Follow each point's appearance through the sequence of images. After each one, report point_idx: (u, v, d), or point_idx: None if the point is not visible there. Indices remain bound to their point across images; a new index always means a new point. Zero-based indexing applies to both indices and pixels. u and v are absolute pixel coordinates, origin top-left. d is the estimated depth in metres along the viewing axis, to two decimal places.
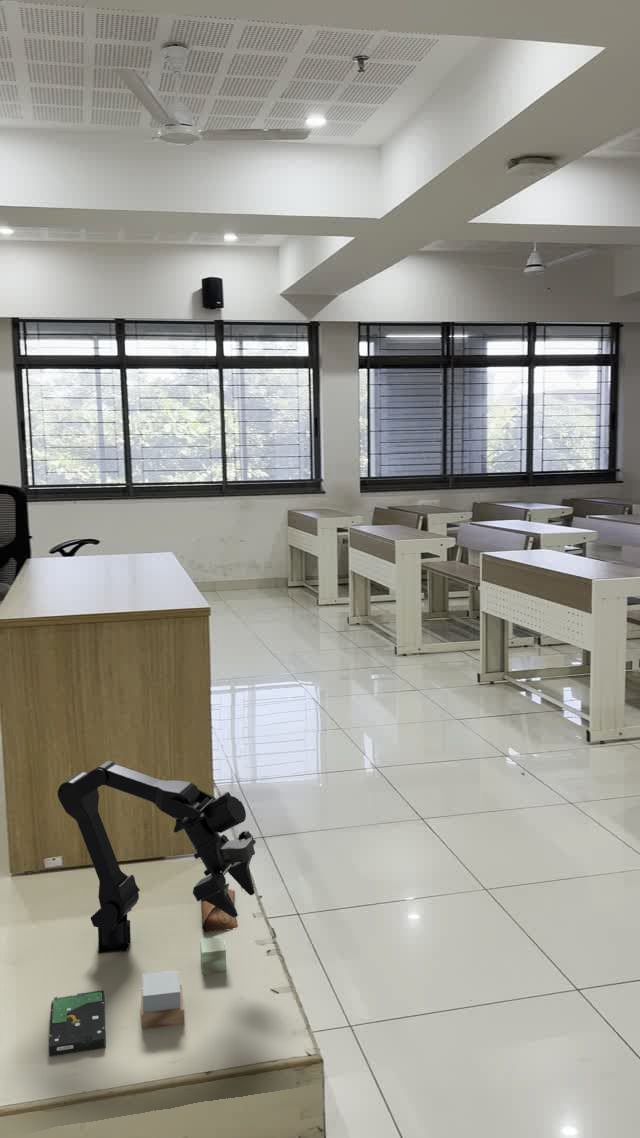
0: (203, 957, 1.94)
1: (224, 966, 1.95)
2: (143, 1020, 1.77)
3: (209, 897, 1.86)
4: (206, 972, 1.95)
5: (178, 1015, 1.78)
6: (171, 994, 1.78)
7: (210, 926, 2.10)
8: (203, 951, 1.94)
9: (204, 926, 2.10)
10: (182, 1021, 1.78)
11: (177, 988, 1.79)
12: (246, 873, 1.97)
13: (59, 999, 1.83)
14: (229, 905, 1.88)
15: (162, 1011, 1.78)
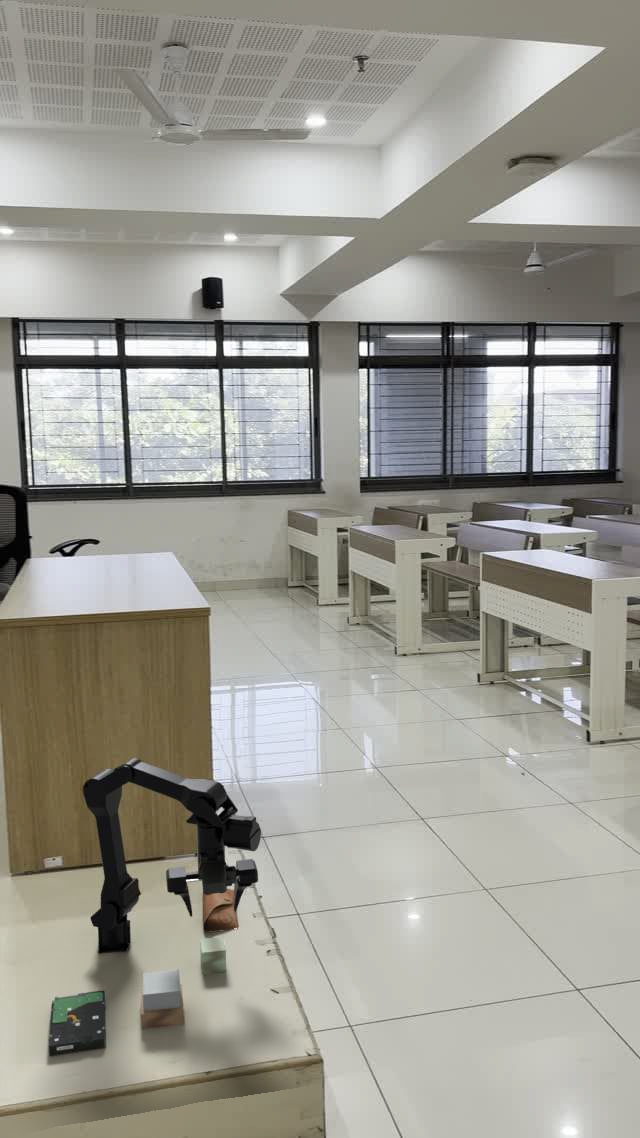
0: (203, 957, 1.94)
1: (224, 966, 1.95)
2: (143, 1020, 1.77)
3: None
4: (206, 972, 1.95)
5: (177, 1015, 1.78)
6: (172, 992, 1.78)
7: (211, 925, 2.10)
8: (203, 951, 1.94)
9: (205, 926, 2.10)
10: (182, 1021, 1.78)
11: (177, 987, 1.79)
12: (236, 893, 1.94)
13: (60, 999, 1.83)
14: None
15: (162, 1011, 1.78)
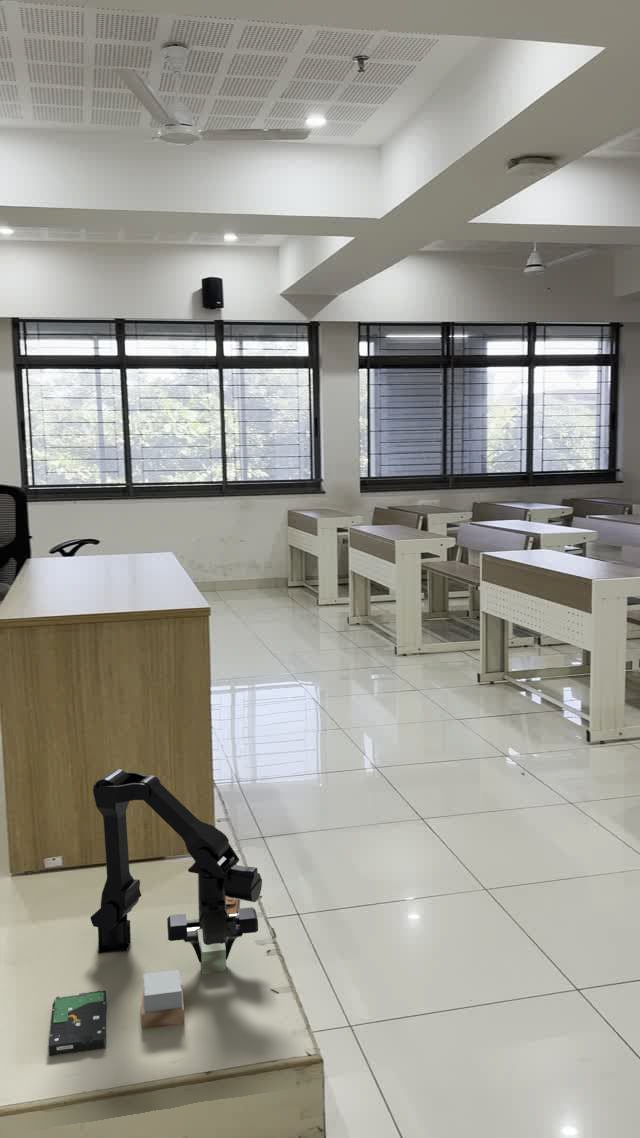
0: (203, 957, 1.94)
1: (224, 966, 1.95)
2: (143, 1020, 1.77)
3: None
4: (206, 972, 1.95)
5: (178, 1015, 1.78)
6: (173, 993, 1.78)
7: None
8: (203, 951, 1.94)
9: None
10: (182, 1021, 1.78)
11: (179, 988, 1.79)
12: (227, 942, 1.96)
13: (61, 999, 1.83)
14: (195, 951, 1.95)
15: (162, 1011, 1.78)
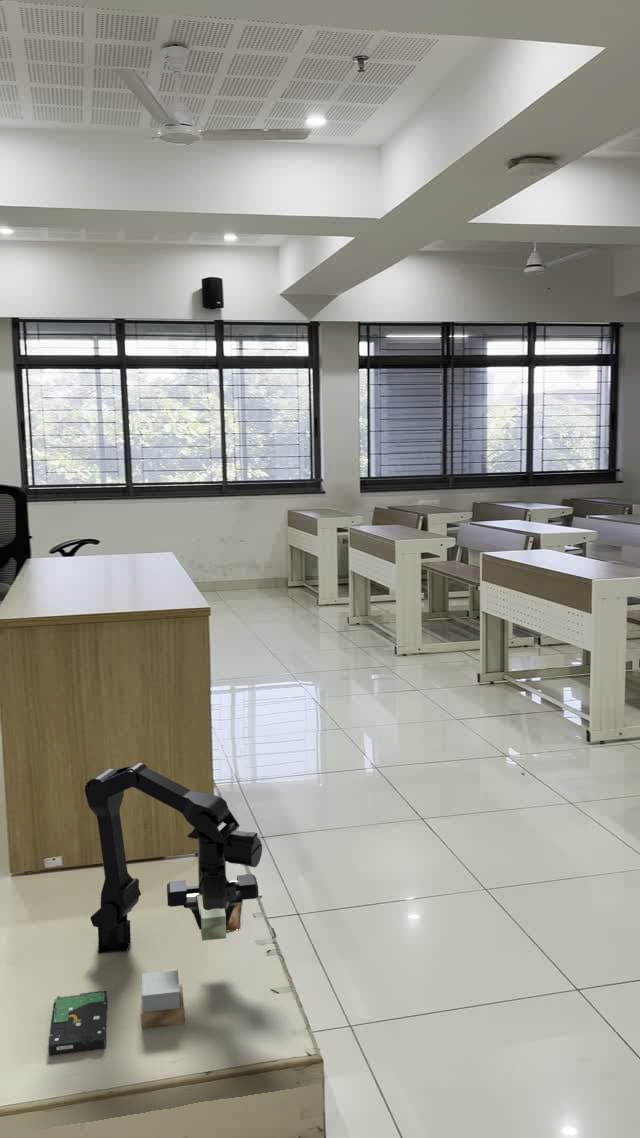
0: (203, 923, 1.93)
1: (224, 932, 1.94)
2: (143, 1020, 1.77)
3: None
4: (206, 938, 1.93)
5: (178, 1015, 1.78)
6: (171, 993, 1.78)
7: None
8: (203, 917, 1.93)
9: None
10: (182, 1021, 1.78)
11: (176, 988, 1.79)
12: (227, 908, 1.94)
13: (62, 998, 1.83)
14: (195, 918, 1.94)
15: (162, 1011, 1.78)
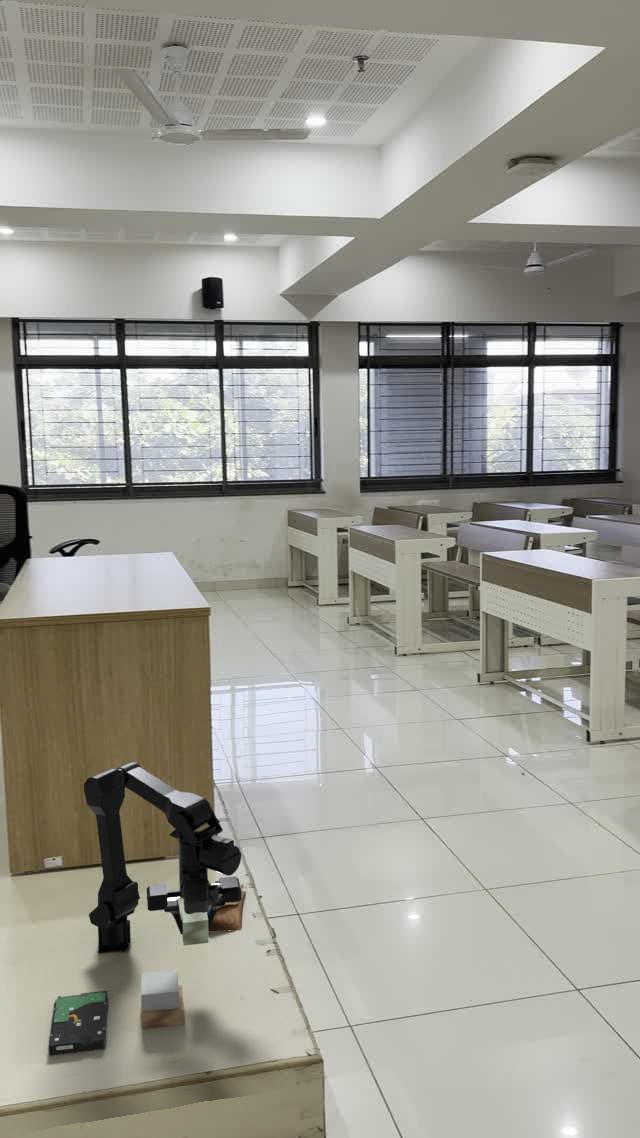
0: (184, 927, 1.86)
1: (206, 937, 1.88)
2: (143, 1020, 1.77)
3: None
4: (188, 943, 1.87)
5: (177, 1015, 1.78)
6: (170, 993, 1.78)
7: (213, 925, 2.10)
8: (184, 921, 1.86)
9: None
10: (182, 1021, 1.78)
11: (176, 988, 1.79)
12: (209, 912, 1.88)
13: (63, 998, 1.83)
14: (176, 922, 1.88)
15: (162, 1011, 1.77)
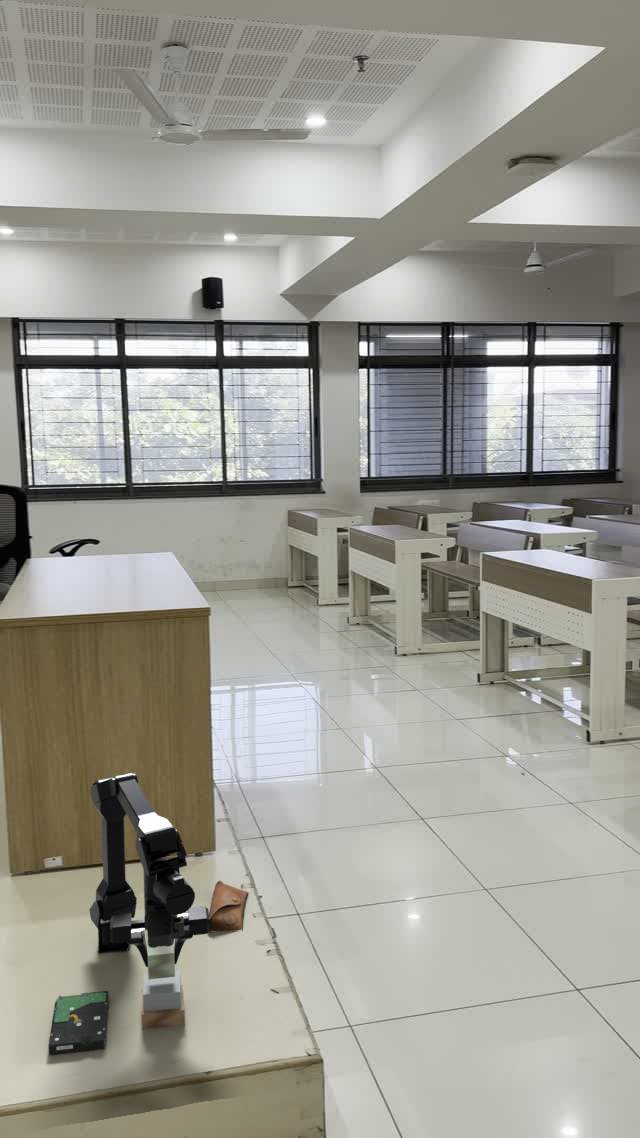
0: (149, 960, 1.77)
1: (172, 970, 1.78)
2: (144, 1020, 1.77)
3: None
4: (153, 977, 1.77)
5: (178, 1015, 1.78)
6: (171, 993, 1.78)
7: (214, 925, 2.10)
8: (149, 954, 1.77)
9: None
10: (183, 1021, 1.78)
11: (177, 988, 1.79)
12: (176, 944, 1.79)
13: (63, 998, 1.83)
14: (141, 955, 1.78)
15: (163, 1011, 1.77)
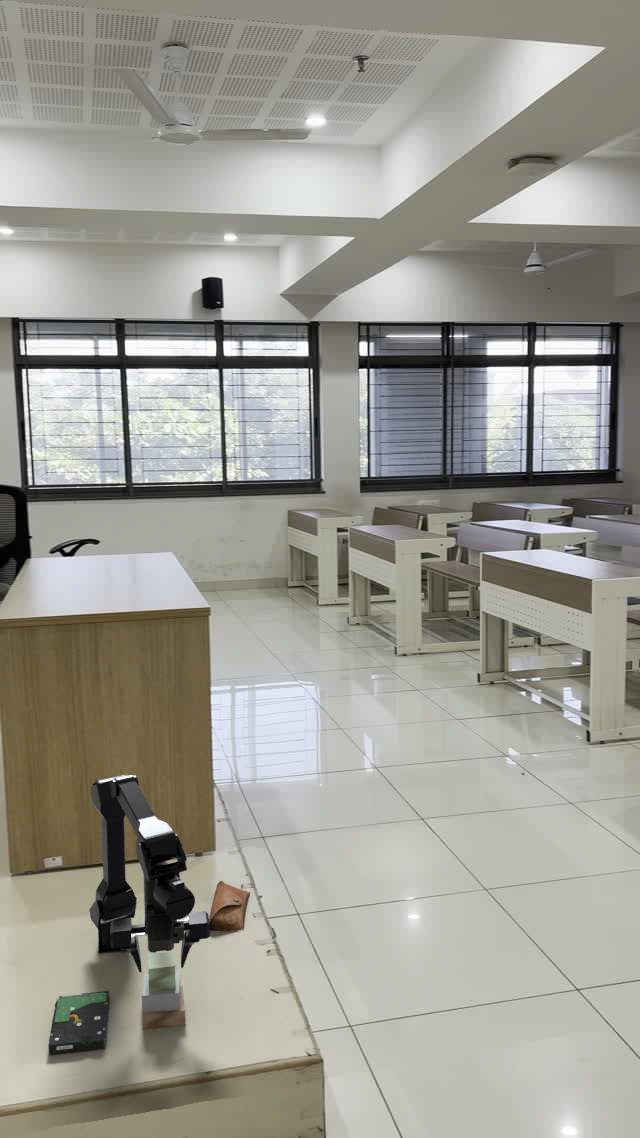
0: (150, 974, 1.77)
1: (173, 983, 1.78)
2: (144, 1021, 1.77)
3: None
4: (153, 990, 1.78)
5: (179, 1016, 1.78)
6: (170, 995, 1.77)
7: (215, 926, 2.10)
8: (150, 967, 1.77)
9: (210, 925, 2.10)
10: (183, 1022, 1.78)
11: (176, 990, 1.78)
12: (183, 948, 1.79)
13: (64, 998, 1.83)
14: None
15: (163, 1012, 1.77)
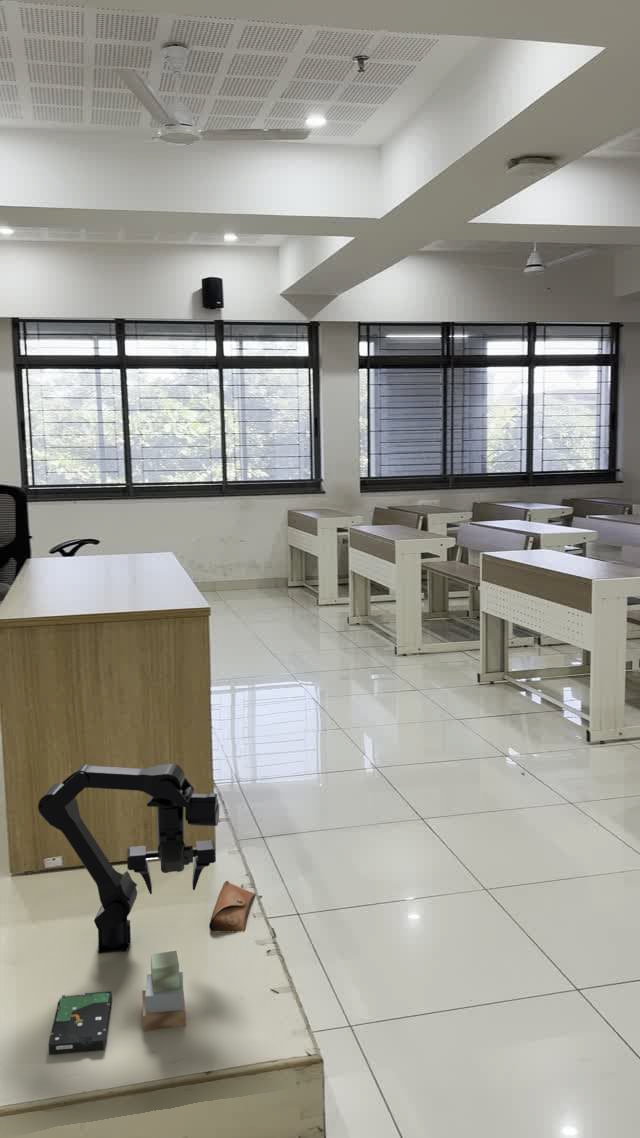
0: (154, 974, 1.77)
1: (177, 983, 1.78)
2: (145, 1021, 1.76)
3: None
4: (157, 990, 1.78)
5: (179, 1016, 1.78)
6: (174, 995, 1.77)
7: (216, 926, 2.10)
8: (154, 967, 1.77)
9: (210, 925, 2.10)
10: (184, 1022, 1.78)
11: (180, 990, 1.78)
12: (194, 872, 2.01)
13: (67, 997, 1.83)
14: (145, 882, 2.00)
15: (164, 1012, 1.77)
